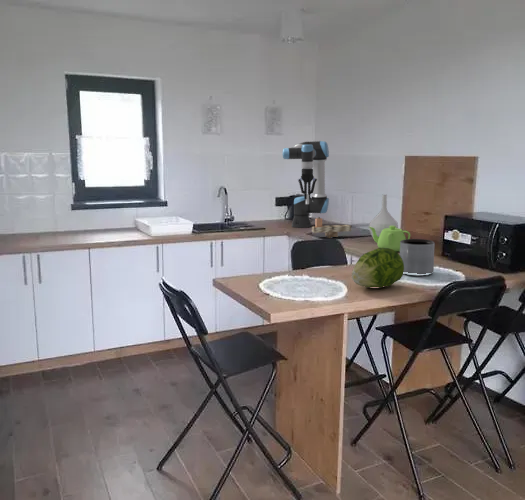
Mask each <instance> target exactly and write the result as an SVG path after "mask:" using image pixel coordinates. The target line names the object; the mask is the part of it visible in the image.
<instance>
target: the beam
mask: <svg viewBox="0 0 525 500" xmlns="http://www.w3.org/2000/svg"><path fill="white" fill-rule="evenodd" d="M351 231H352V225H350V224H338V225H337V224H335V225H334V224H333V225H332V224H331V225H322V227H315V226H314V225H313V226H312V225H311V232H312V233H314V234H319V233H320V234H321V233H322V234H323V233H324V234H325V235H324V236H325V237H326V236H327V237H326V238H328V239H332V238H331V237H338V236H339V235H338V234H339V233H340V232H342V233H343V232H351ZM338 238H339V237H338Z"/></svg>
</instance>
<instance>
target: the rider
mask: <svg viewBox="0 0 525 500" xmlns="http://www.w3.org/2000/svg"><path fill="white" fill-rule="evenodd" d="M314 223H315V224H314V225H315V227H322V226H323V218H321V217H320V216H318V217H316V218H315V220H314Z"/></svg>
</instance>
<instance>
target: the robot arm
mask: <svg viewBox="0 0 525 500" xmlns="http://www.w3.org/2000/svg"><path fill="white" fill-rule="evenodd" d="M329 150H330V149H329V144H328V143H327V142H326V141H321V140H319V141H318V140H317V141H314V140H313V141H302V142H300V143H297V144H295V145H294V146H293V147H285V148H283V149H282V158H283V160H301V176H300V178H298V179H297V181H298V184H299V188H300V192H301V193H302V194H303V196H297V197H294V200H293V219H292V222H291V228H296V229H297V228H299V229H302V228H303V229H305V228H312V222H311V218H310V214H326V213H327V212H328V210H329V209H328V208H329V204H330V203H329V201H330V199H329V197H328V195H327V194H326V189H325V188H326V186H325V185H326V183H325V182H326V180H325V179H326V178H325V177H326V175H325V174H326V171H325V169H326V167H325V166H326V165H325V163H326V161H327V159H328V158H329V157H330V154H329V153H330V151H329ZM302 181H303V182H302Z"/></svg>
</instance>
